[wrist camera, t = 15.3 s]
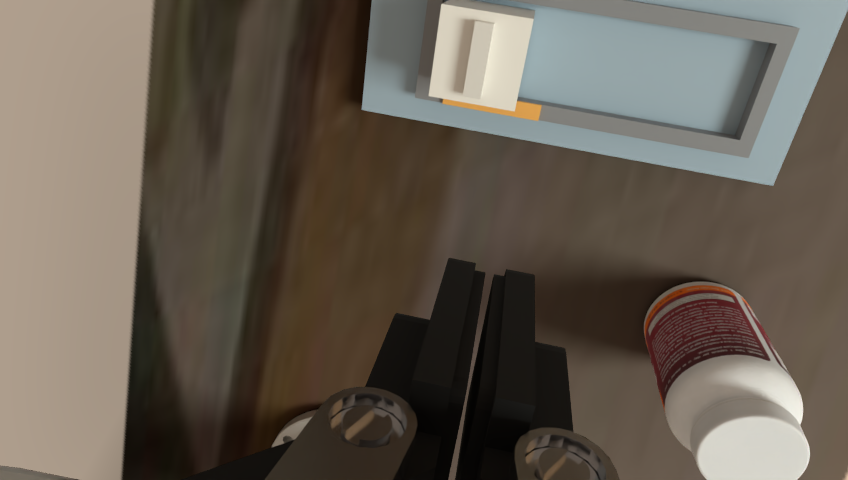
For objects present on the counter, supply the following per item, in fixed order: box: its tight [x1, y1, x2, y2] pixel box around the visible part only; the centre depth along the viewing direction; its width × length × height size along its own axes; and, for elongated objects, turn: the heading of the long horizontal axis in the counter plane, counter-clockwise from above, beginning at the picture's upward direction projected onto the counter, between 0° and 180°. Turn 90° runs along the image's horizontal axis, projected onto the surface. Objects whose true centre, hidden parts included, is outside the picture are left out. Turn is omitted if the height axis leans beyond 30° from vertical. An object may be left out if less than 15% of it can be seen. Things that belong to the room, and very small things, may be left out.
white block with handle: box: [429, 0, 535, 112], centre depth 29 cm, size 4×4×5 cm
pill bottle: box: [644, 282, 810, 480], centre depth 32 cm, size 6×6×11 cm
